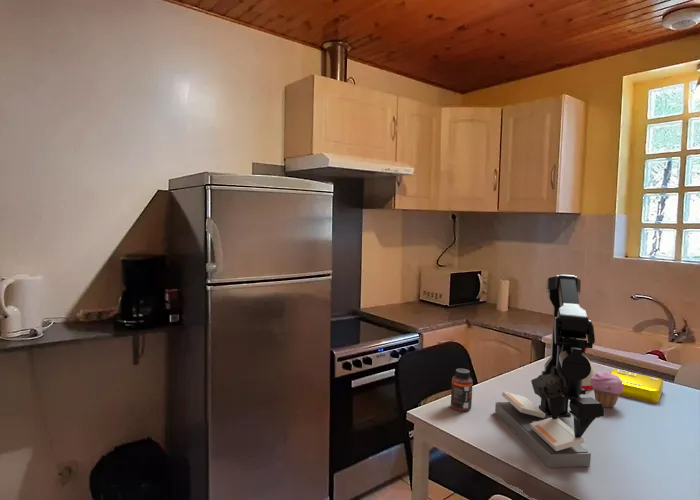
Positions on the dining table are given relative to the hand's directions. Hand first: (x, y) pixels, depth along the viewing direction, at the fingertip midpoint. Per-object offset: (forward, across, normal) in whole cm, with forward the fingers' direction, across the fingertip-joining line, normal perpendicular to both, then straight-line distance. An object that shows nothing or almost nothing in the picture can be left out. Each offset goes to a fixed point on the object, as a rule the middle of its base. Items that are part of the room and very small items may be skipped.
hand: (565, 428), depth 106 cm
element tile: (+7, -36, +47) cm, 60 cm away
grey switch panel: (+6, -8, -2) cm, 10 cm away
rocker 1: (+1, -16, -2) cm, 16 cm away
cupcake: (+6, -26, +30) cm, 40 cm away
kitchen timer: (+6, -44, +31) cm, 54 cm away
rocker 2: (+1, 0, -2) cm, 3 cm away
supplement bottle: (+6, -26, -16) cm, 31 cm away
